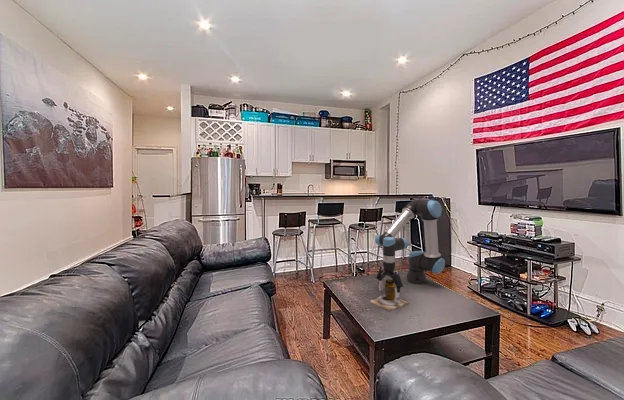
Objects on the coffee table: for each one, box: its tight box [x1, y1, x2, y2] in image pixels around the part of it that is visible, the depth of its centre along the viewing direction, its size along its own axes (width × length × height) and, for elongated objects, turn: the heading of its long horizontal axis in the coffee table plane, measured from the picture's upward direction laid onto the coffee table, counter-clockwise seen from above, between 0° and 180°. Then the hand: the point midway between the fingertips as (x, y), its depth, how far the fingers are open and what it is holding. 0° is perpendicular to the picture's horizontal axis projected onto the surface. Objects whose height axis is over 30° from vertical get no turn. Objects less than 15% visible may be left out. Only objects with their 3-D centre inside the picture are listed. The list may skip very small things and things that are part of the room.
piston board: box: [369, 294, 409, 312], centre depth 183 cm, size 18×16×3 cm
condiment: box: [381, 279, 397, 302], centre depth 182 cm, size 7×8×12 cm
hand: (389, 293), depth 182 cm, fingers open, 13 cm apart
